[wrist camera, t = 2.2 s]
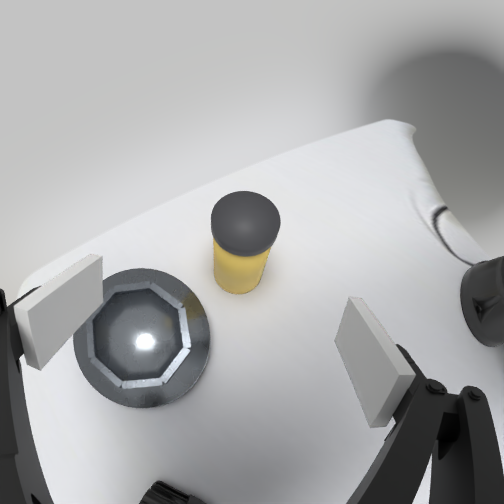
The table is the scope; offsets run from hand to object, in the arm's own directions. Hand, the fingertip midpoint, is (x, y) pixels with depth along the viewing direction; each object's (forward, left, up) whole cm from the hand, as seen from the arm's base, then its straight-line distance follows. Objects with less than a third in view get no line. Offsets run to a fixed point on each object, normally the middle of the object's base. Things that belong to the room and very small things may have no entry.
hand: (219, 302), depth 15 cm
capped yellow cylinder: (-10, -4, -21) cm, 23 cm away
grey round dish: (+4, -8, -21) cm, 22 cm away
